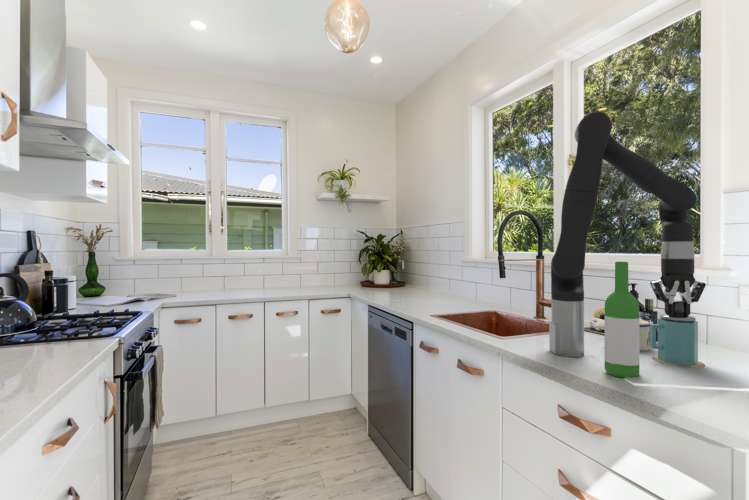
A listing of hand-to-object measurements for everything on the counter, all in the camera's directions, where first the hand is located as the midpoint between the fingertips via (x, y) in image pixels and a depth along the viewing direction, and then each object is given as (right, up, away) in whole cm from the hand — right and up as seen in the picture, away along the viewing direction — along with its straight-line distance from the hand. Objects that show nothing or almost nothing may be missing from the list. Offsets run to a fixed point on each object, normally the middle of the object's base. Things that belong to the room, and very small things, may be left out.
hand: (677, 316), depth 107 cm
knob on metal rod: (0, -11, 0) cm, 11 cm away
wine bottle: (-23, -14, -10) cm, 28 cm away
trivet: (0, -14, 0) cm, 14 cm away
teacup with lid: (-1, -14, +17) cm, 22 cm away
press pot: (-1, -13, 0) cm, 13 cm away
